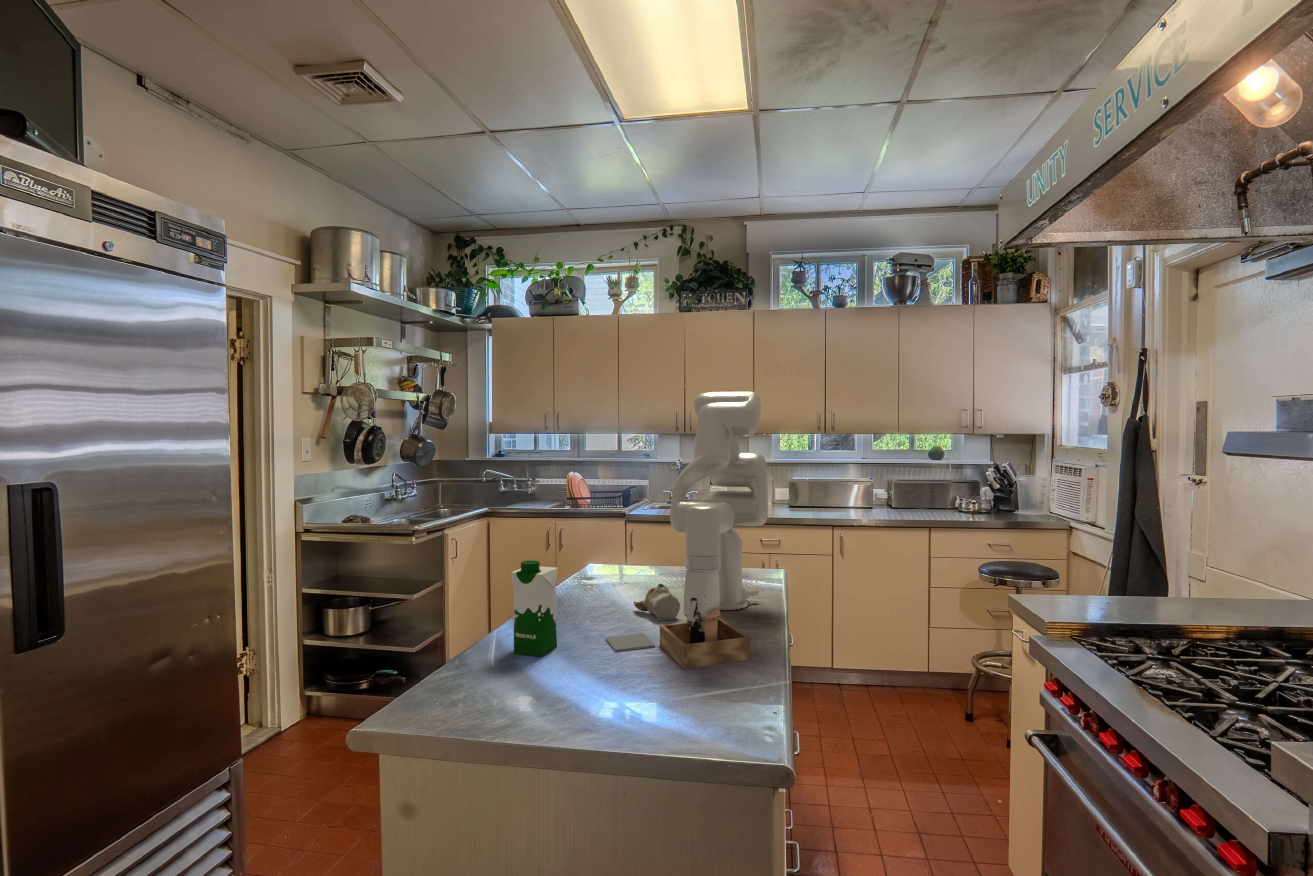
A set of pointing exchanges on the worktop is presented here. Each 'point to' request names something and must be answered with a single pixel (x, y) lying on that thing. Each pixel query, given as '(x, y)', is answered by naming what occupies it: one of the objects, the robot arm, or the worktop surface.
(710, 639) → the terracotta pot
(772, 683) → the worktop surface
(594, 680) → the worktop surface
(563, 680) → the worktop surface
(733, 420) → the robot arm
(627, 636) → the slate tile
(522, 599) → the milk carton
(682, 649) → the open wooden box
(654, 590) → the ceramic sculpture
